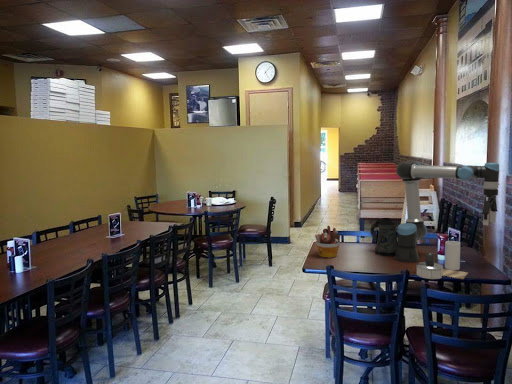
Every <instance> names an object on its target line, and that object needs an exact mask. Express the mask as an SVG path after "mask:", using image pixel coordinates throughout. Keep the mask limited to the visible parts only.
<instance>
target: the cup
mask: <svg viewBox="0 0 512 384" xmlns="http://www.w3.org/2000/svg"><path fill="white" fill-rule="evenodd" d="M444 245H445V246H444V247H445V249H444V269H448V270H455V271H460V269H461V268H460V267H461V242H460V241H454V240H446V241H445V244H444Z"/></svg>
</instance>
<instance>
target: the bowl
mask: <svg viewBox="0 0 512 384" xmlns="http://www.w3.org/2000/svg"><path fill="white" fill-rule="evenodd" d="M443 269H444V268H443ZM443 269H442V270H437V271H432V270H424V269H420V268H418V267H417V266H416V276H417V277H419V278H423V279H428V280H440V279H442V278H443V277H444V276H443ZM442 276H443V277H442Z"/></svg>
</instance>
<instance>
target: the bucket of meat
mask: <svg viewBox="0 0 512 384" xmlns="http://www.w3.org/2000/svg"><path fill="white" fill-rule="evenodd" d="M336 229H337V228H336V227H333V229H332V232H331V226H330V225H327V227H326V228H323V232H322V233H317V234H315V235H314V238H315V240H316V241H315V243H316V248H317V252H318V255H319V257H321V256H322V257H321V258H323V257H334V258H336V257H337V256H338V252H339V248H340V243H341V241H340V240H341V235H340V234H338V232H339V231H338V230H336ZM335 256H336V257H335Z"/></svg>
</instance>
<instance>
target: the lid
mask: <svg viewBox="0 0 512 384" xmlns="http://www.w3.org/2000/svg"><path fill="white" fill-rule="evenodd" d="M417 267H418V268H420V269H424V270H432V271H437V270H442V269H444V265H442V264H440V263H436V262H435V253H434V252H425V261H422V262H418V263H416V268H417Z"/></svg>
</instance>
